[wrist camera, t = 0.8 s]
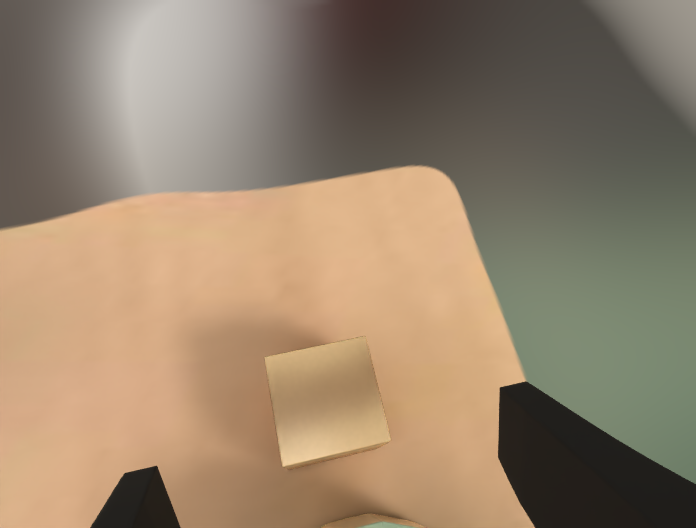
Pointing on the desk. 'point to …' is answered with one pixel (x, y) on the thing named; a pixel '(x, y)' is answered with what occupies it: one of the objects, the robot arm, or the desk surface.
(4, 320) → the desk surface
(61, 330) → the desk surface
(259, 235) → the desk surface
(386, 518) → the pot
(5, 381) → the desk surface
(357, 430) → the block
